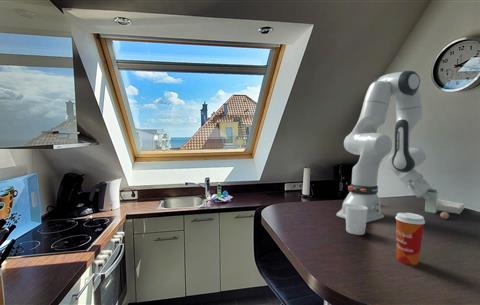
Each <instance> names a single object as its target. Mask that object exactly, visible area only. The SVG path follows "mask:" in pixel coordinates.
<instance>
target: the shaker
mask: <svg viewBox="0 0 480 305" xmlns="http://www.w3.org/2000/svg"><path fill="white" fill-rule="evenodd" d="M426 194H427V195H428V196H429V197H430V198H432V200H433V202H431V203H429V202H428V201H427V200H426V199H424V200H425V201H424V212H426V213H432V214H436V213H437V212H438V210H437V207H438V200H439V194H440V193H439V191H437V189H435V188H432V189H428V192H427V193H426Z"/></svg>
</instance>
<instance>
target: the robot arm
mask: <svg viewBox="0 0 480 305" xmlns="http://www.w3.org/2000/svg"><path fill="white" fill-rule="evenodd" d="M420 83H421V78H420V76H419V74H418V73H417V72H416V71H414V70H405V71H398V72H397V71H396V72H391V73H388V74H383V75H379V76H377V77H376V78H375V79H374V80H373V82H371V84H370V85H369V87H368V89H367V91H366V93H365V96H364V99H363V100H364V101H363V104H362V108H361V111H360V115H359V117H358V121H356V122H357V123H356V124H355V126H354V127H353V129H352V131H351V132H350V133H349V134H348V135H346V136H345V138H344V140H343V147H344V149H345V151H347V152H348V153H351V154H353V155H356V156H357V155H358V156H359V158H358V161H357V163H356V164H355V165H354V166H353V167H352V169H351V170H352V171H351V183H350V185H348V187H347V190H348V191H349V193H348V194H347V195H346V197H345V198H344V200H343V202H342V206H341V209H340V210H339V211H337V213H336V216H337V217H339V218H341V219H345V220H346V205H348V204H357V205H362V206H365V207H367V208H368V211H367V220H366V223H370V222H373V221H376V220H380V219H381V220H382V219H383V218H384V214H382V213H381V198H380V197H379V196H378V190H379V186H378V177H379V176H378V174H379V168H380V165H381V164H382V161H383V160H384V158H385V157H386V156H387V155H388V156H387V158H386V159H385V164H386V165H387V167H388V168H389V169H390V171H391V172H392V173H393V174H394V175H396V176H397V177H398V179H399V180H400V181H401V182H402V183H403V185H405V186H406V187H408V189H409V190H410V191H411V193H412V194H413V195H414V196H416V198H418V199H419V198H421V197H422V198H423V199H424V200H425V199H426V200H427V201H428V202H429V203H431V202H433V200H432V198H430V197H429V196H428V195H427V194H426V193H427V192H428V189H433V187H432V186H431V185H430V183H428V181H427V180H426V179H425V178H424V176H423V174H421V173H420V172H418V171H417V170H416V169H415V168H417V167H419V166H420V165H422V164H423V163H424V162H425V160H426V153H425V152H424V151H423V149H421V148H420V147H417V146H416V147H410V136H411V132H412V130H413V129H414V128H415V127H416V126H417V125H418V123H420V121H421V120H422V116H423V103H422V96H421V92H420V90H419V88H420ZM391 97H394V98H395V111H396V117H395V119H396V120H395V121H396V123H395V125H394V126H395V127H394V152H392V153H391V154H390V152H391V151H392V148H393V141H392V139H391V137H390V136H388V135H386V134H383V133H380V132H377V131H378V129H379V128H380V127H381V126H382V125H384V123H385V122H386V120H387V115H388V111H389V106H390V103H391V102H390V101H391Z"/></svg>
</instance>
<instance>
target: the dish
mask: <svg viewBox="0 0 480 305" xmlns="http://www.w3.org/2000/svg"><path fill="white" fill-rule="evenodd" d="M464 209H465V203H464V202H463V203H462V202H458V201H457V202H456V201H449V200H443V199H438V207H437V212H438V211H439V212H447V213H449V214H451V213H452V214H456V215H461V214H460V213H462V212H463V211H464Z"/></svg>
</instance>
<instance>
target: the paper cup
mask: <svg viewBox="0 0 480 305" xmlns="http://www.w3.org/2000/svg"><path fill="white" fill-rule="evenodd" d="M395 220H396V222H395V223H396V224H395V225H396V226H395V227H396V228H395V230H396V234H395V235H396V239H395V240H396V242H395V244H396V245H395V246H396V260H397V261H398V262H399V263H401V264H404V265H408V266H417V265H419V260H420V255H421V248H422V240H423V235H424V234H423V233H424V227H425V226H424V225H425V224H426V220H425V218H424V216H422V215H420V214H416V213H413V212H412V213H411V212H398V213H397V214H396V215H395Z"/></svg>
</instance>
